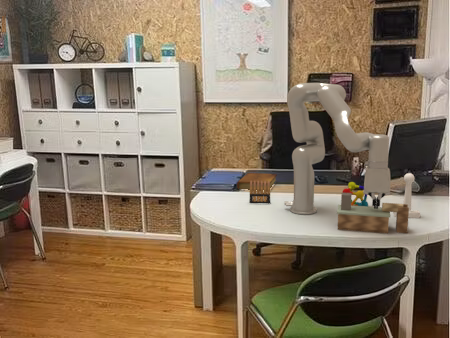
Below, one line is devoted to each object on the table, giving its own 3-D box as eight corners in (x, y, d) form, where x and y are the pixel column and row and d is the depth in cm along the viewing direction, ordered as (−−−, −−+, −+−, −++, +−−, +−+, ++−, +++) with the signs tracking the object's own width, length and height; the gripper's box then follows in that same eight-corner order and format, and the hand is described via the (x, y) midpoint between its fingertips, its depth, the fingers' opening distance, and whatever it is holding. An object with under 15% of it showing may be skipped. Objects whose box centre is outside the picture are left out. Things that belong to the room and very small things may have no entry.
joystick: (394, 217, 204) (397, 174, 200) (391, 212, 211) (393, 170, 207) (420, 218, 202) (423, 174, 198) (416, 213, 210) (419, 171, 206)
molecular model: (348, 213, 212) (334, 185, 217) (351, 216, 223) (337, 189, 228) (378, 199, 209) (363, 171, 214) (379, 203, 220) (365, 176, 225)
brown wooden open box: (337, 229, 190) (338, 205, 188) (338, 222, 199) (339, 198, 197) (407, 234, 182) (409, 209, 180) (405, 226, 191) (407, 202, 189)
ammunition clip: (270, 203, 230) (270, 180, 228) (270, 204, 229) (270, 180, 226) (249, 202, 232) (249, 180, 229) (249, 203, 230) (249, 180, 227)
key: (382, 211, 187) (382, 204, 186) (381, 209, 189) (382, 202, 188) (402, 212, 184) (403, 205, 184) (402, 210, 187) (402, 203, 186)
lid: (336, 213, 188) (337, 196, 186) (338, 206, 198) (338, 190, 197) (390, 217, 182) (391, 200, 181) (388, 209, 192) (389, 193, 191)
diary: (246, 181, 279) (246, 172, 278) (276, 183, 274) (276, 174, 273) (237, 190, 257) (237, 180, 256) (269, 192, 252) (269, 182, 251)
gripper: (358, 165, 183) (357, 209, 187) (398, 167, 179) (395, 211, 183) (359, 162, 190) (357, 204, 194) (396, 163, 186) (394, 206, 190)
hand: (375, 207), depth 188 cm, fingers closed
